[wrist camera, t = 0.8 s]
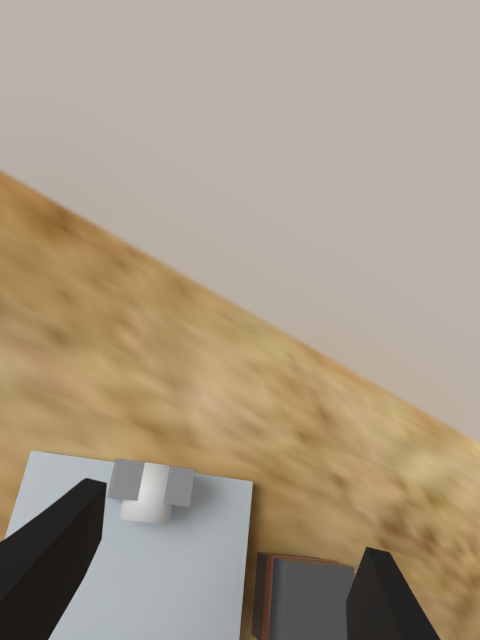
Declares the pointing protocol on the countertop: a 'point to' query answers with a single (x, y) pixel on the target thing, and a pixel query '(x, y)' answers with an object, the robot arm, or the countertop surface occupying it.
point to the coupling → (300, 598)
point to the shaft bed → (150, 549)
